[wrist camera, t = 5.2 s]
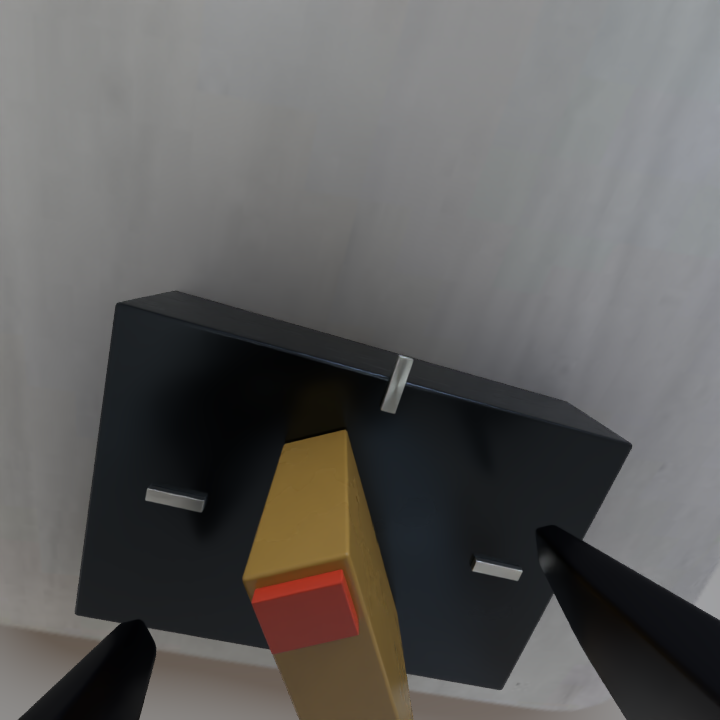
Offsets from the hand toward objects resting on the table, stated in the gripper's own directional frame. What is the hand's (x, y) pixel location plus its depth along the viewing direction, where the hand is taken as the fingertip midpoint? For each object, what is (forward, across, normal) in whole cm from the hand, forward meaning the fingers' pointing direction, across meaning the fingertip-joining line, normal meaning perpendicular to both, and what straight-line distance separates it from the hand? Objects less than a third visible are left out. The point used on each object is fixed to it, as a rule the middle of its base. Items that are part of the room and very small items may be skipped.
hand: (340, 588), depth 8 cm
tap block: (+5, 0, 0) cm, 5 cm away
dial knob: (+2, 0, 0) cm, 2 cm away
